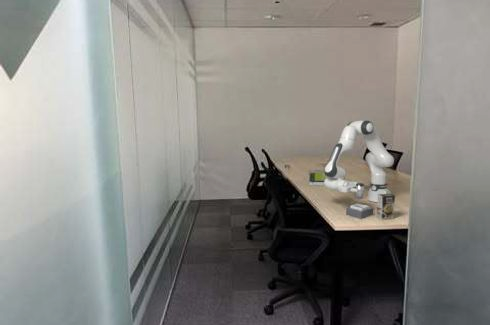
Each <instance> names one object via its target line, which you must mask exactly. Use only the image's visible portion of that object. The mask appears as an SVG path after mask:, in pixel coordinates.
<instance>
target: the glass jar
mask: <svg viewBox="0 0 490 325" xmlns="http://www.w3.org/2000/svg"><path fill="white" fill-rule="evenodd" d="M356 189H359V191H358V192H356V191H355V199H359V200H363V199H364V190H365V183H363V182H362V183H361V182H357V183H356Z"/></svg>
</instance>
